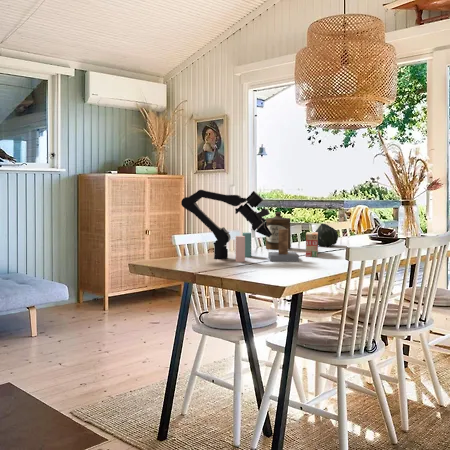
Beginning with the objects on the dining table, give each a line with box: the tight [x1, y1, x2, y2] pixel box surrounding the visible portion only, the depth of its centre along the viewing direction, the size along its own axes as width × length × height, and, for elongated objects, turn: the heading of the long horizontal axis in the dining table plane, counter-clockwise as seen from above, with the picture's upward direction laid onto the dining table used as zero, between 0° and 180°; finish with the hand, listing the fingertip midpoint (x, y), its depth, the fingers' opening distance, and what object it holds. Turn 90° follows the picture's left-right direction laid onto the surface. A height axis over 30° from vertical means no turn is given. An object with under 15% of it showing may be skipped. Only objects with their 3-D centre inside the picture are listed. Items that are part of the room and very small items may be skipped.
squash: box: [315, 222, 339, 247], centre depth 341 cm, size 14×15×15 cm
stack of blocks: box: [305, 231, 319, 258], centre depth 299 cm, size 21×6×12 cm, turn 170°
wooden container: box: [265, 211, 292, 251], centre depth 328 cm, size 15×15×22 cm
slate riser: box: [267, 251, 300, 262], centre depth 278 cm, size 14×14×3 cm
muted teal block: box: [242, 232, 252, 258], centre depth 291 cm, size 4×4×12 cm
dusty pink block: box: [235, 235, 246, 263], centre depth 271 cm, size 4×4×12 cm
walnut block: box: [278, 229, 289, 254], centre depth 278 cm, size 4×4×12 cm
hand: (270, 235), depth 279 cm, fingers open, 9 cm apart
